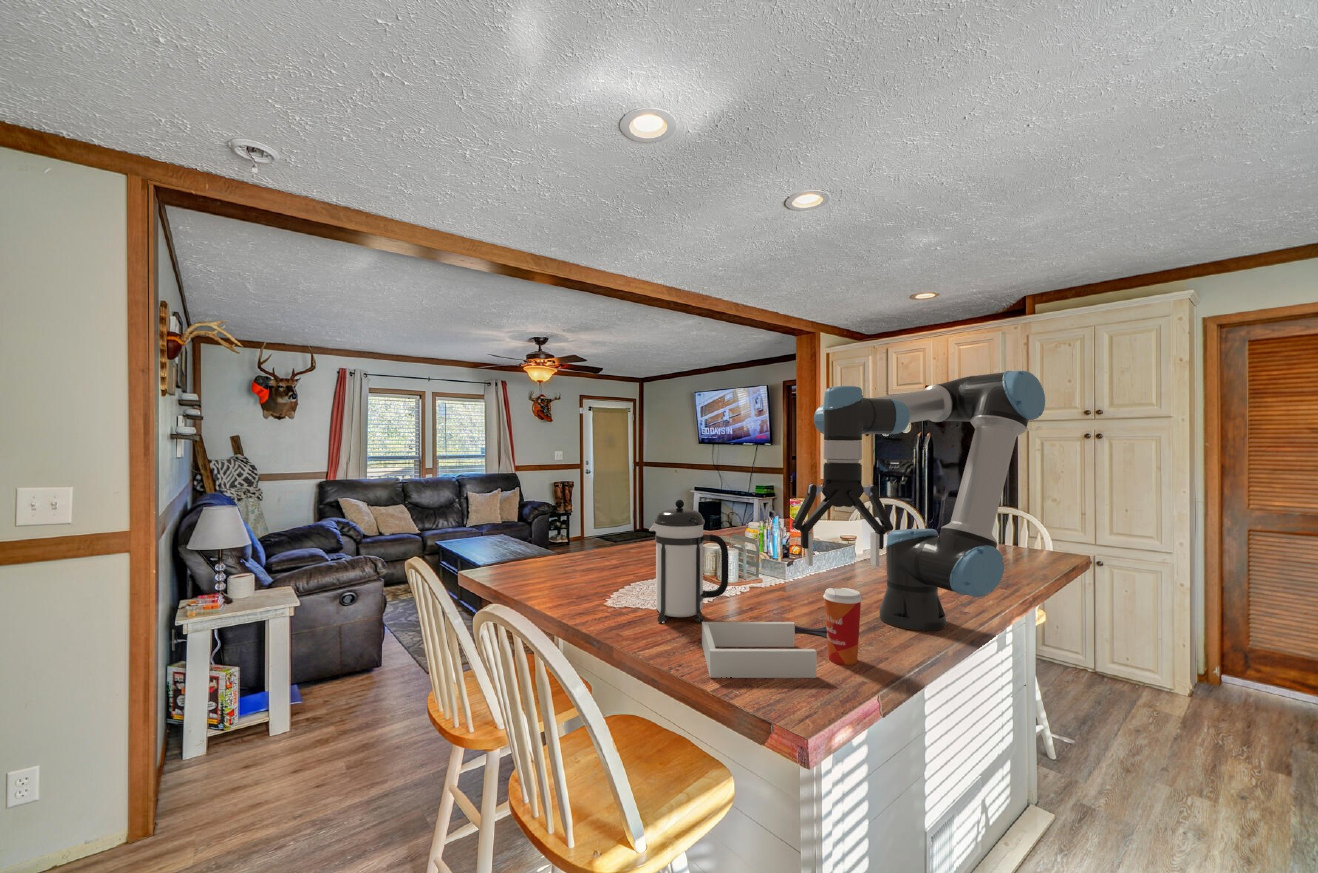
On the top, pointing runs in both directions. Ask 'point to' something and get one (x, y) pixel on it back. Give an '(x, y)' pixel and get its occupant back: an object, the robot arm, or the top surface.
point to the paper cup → (842, 624)
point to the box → (755, 651)
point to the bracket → (812, 631)
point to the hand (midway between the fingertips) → (841, 565)
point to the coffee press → (683, 563)
